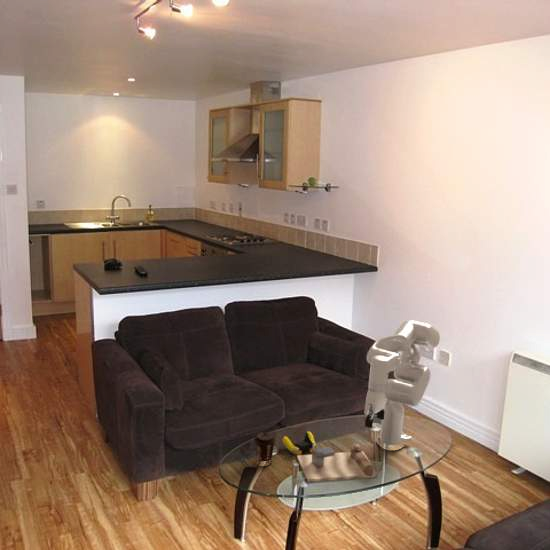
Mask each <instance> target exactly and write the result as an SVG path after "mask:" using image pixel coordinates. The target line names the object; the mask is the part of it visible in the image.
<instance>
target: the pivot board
mask: <svg viewBox="0 0 550 550" xmlns="http://www.w3.org/2000/svg"><path fill="white" fill-rule="evenodd" d="M352 447H353V448H354V450H356V451H357V450H358V449H359V448H360V449H361V446H360V444H358V443H354V444H352ZM361 452H362V454H363V455H364V456H365V458H366V459H367V460H368V461H369V463H370V464H371V465H372V467H373V464H372V463H371V462H370V460H369V458H368V457H367V455H366V453H365V452H364V450H361ZM350 454H351V451H347V452H335V456H330V457H325V458H324V464H323V467H321V468H316V467H315V465H314V464H313V463H312V454H301V455H296V458H297V462H298V464H299V467H300V468H301V470H302V473H303V476H304V475H305V476H304V478H305V477H306V478H305V480H306V479H307V480H306V482H307V481H315V482H327V480H328V481H340V480H351V479H353V480H354V479H363V478H364V479H367V478H378V472H377V471H376V470H375V467H373V475H372V476H367V475H366V474H365V473H364V472H363V470H362V469H361V467H360V466H359V465H358V463H357V462H356V461H355V459H354V458H352V457H351V456H350Z"/></svg>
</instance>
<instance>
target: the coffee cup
mask: <svg viewBox="0 0 550 550" xmlns="http://www.w3.org/2000/svg"><path fill="white" fill-rule="evenodd" d="M275 440H276V439H275V436H274V435H273V433H271V432H268V431H261V432H259V433H257V434H255V437H254V444H255V448H254V449H255V456H256V461H258V462H261V461H267V460H268V461H269V460H271V461H272V459H273V456H274V453H273V452H274V449H275V448H274V446H275Z"/></svg>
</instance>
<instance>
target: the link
mask: <svg viewBox="0 0 550 550" xmlns="http://www.w3.org/2000/svg"><path fill="white" fill-rule="evenodd" d="M361 451H362V449H361V447H360V448H359V449H358V450H357V451H356V450H354V448H353V446H352V447H351V448H350V452H351V454H350V456H351V457H352V458H354V459H355V461H356V462H357V463H358V465H359V466H360V467H361V469H362V470H363V472H364V473H365V474H366V475H367V476H372V475H373V468H374V467H372V466H373V464H372V463H371V462H370V463H371V464H372V465H371V464H370V463H369V461H370V460H369V459H368V460H369V461H368V460H367V459H366V458H365V456H364V455H363V454H362V452H361Z"/></svg>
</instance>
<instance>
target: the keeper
mask: <svg viewBox="0 0 550 550" xmlns="http://www.w3.org/2000/svg"><path fill="white" fill-rule="evenodd" d="M335 453H336V452H335V451H334V449H332V447H331V446H328V445H327V446H324V447H318V448H315V449H312V452H311V455H312V463H313V464H314V465H315V467H316V468H321V467H323V464H324V458H325V457H330V456H335Z"/></svg>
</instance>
